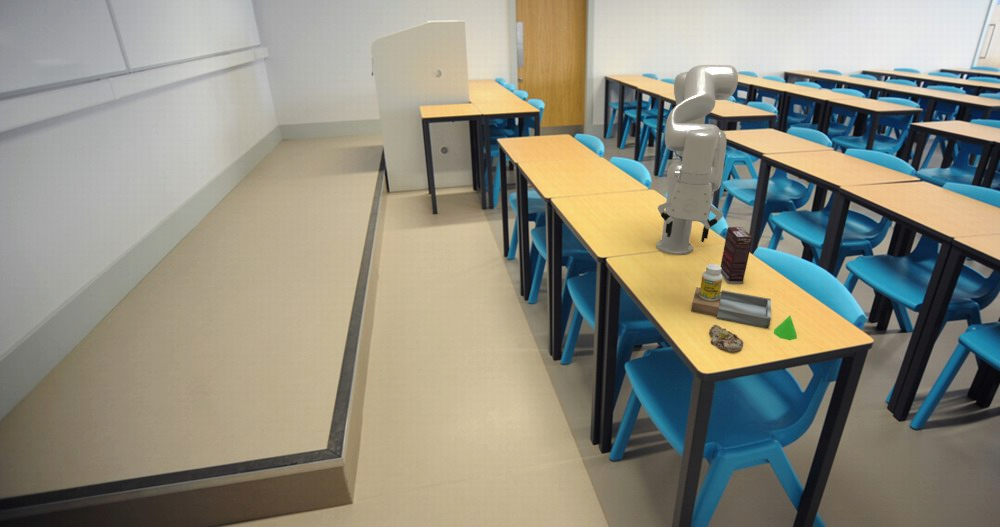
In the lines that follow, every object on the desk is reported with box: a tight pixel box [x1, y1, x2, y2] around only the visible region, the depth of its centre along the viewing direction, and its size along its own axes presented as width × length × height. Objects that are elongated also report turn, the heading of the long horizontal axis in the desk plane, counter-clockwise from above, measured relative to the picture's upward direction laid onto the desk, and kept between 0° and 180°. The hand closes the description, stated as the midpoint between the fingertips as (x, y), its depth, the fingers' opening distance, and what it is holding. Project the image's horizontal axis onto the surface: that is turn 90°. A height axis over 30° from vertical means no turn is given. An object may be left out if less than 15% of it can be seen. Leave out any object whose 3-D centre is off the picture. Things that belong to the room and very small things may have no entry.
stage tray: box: [690, 286, 772, 329], centre depth 148 cm, size 12×20×3 cm, turn 65°
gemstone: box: [773, 315, 798, 341], centre depth 136 cm, size 6×6×6 cm
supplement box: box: [720, 226, 753, 285], centre depth 164 cm, size 9×5×16 cm, turn 178°
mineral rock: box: [708, 324, 744, 352], centre depth 135 cm, size 11×4×8 cm
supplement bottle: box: [699, 263, 724, 301], centre depth 148 cm, size 5×5×10 cm
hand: (685, 237), depth 146 cm, fingers open, 8 cm apart
